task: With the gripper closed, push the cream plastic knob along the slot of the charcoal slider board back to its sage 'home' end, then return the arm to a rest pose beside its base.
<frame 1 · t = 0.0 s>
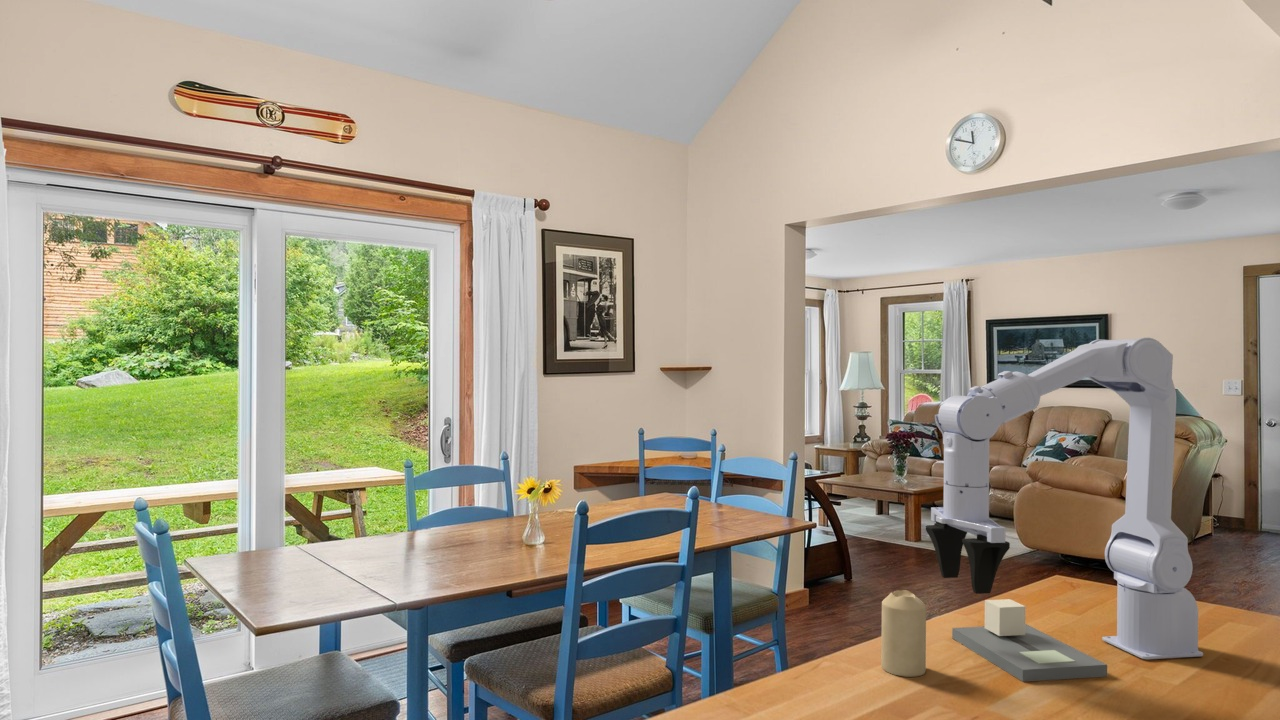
hand: (965, 584, 108), 10 cm above the table, fingers open, 7 cm apart
knob: (1004, 617, 113), point 4 cm above the table, slide at 9.0 cm
candle: (903, 670, 104), on the table
slider board: (1024, 656, 109), on the table
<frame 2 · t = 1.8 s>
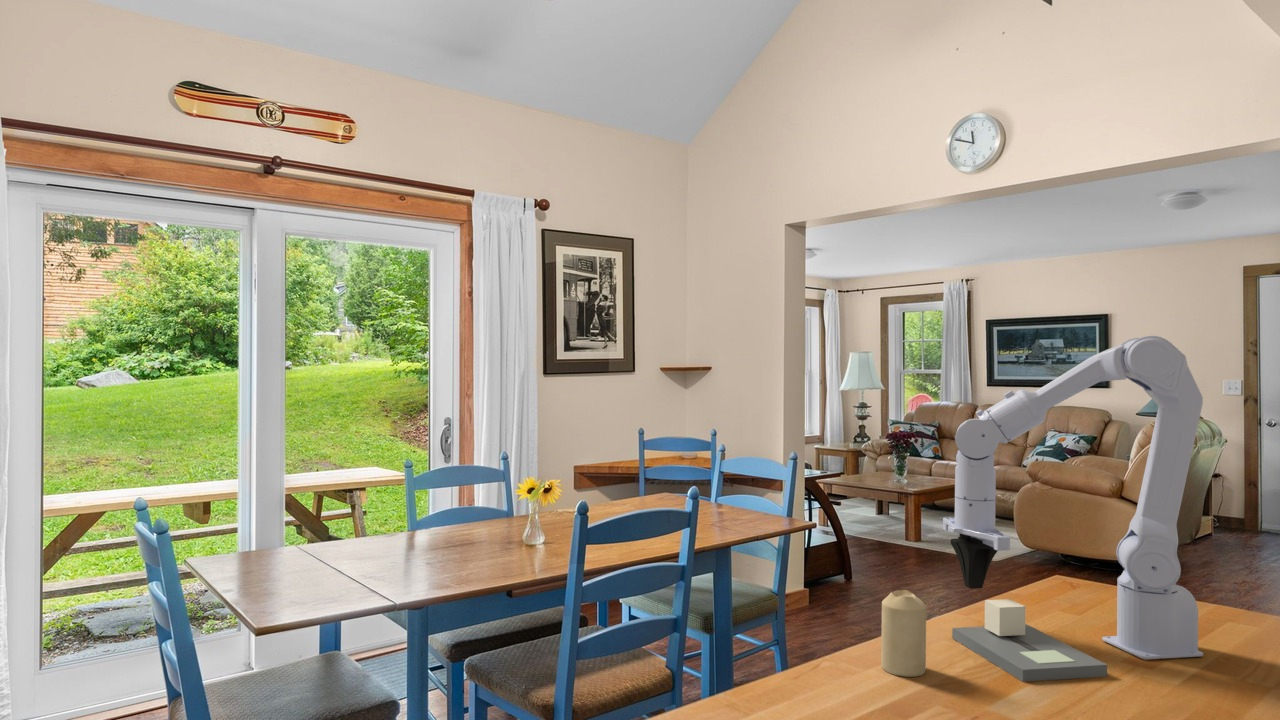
hand: (973, 587, 121), 6 cm above the table, fingers closed
nothing on the table moved.
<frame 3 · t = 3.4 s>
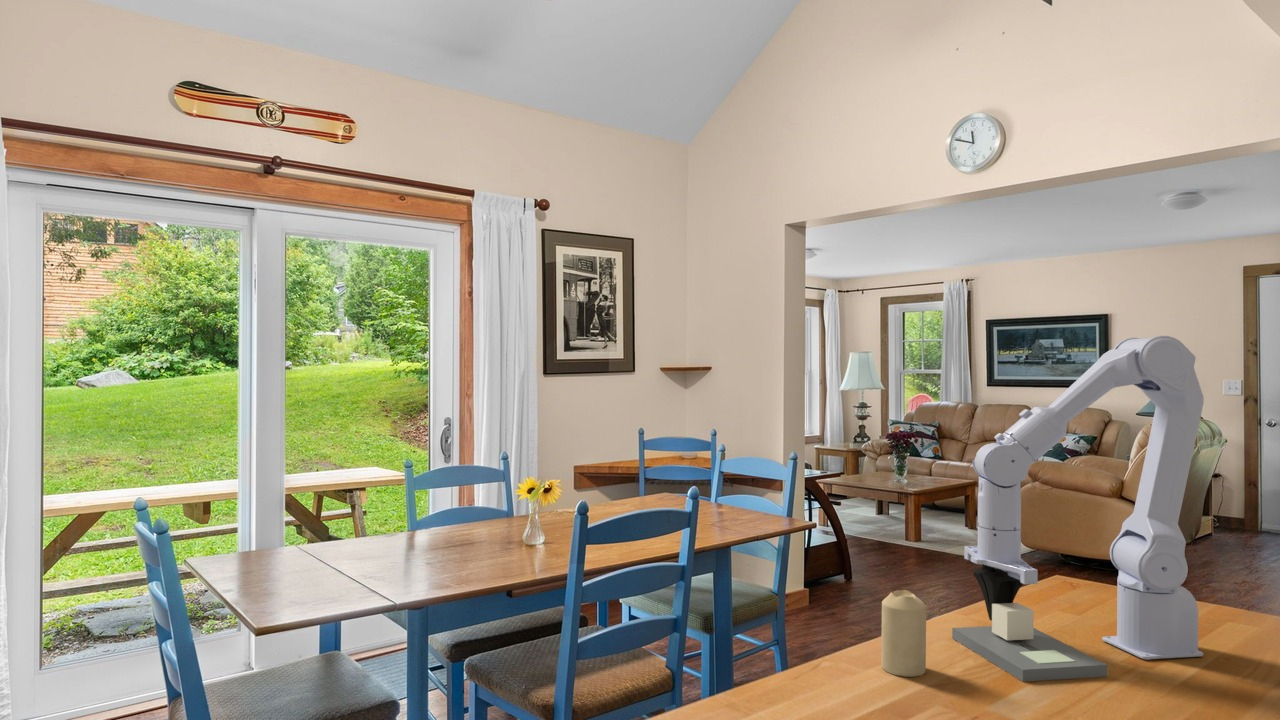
hand: (998, 621, 115), 3 cm above the table, fingers closed
knob: (1012, 621, 112), point 4 cm above the table, slide at 7.3 cm, touching gripper
everything else where it was.
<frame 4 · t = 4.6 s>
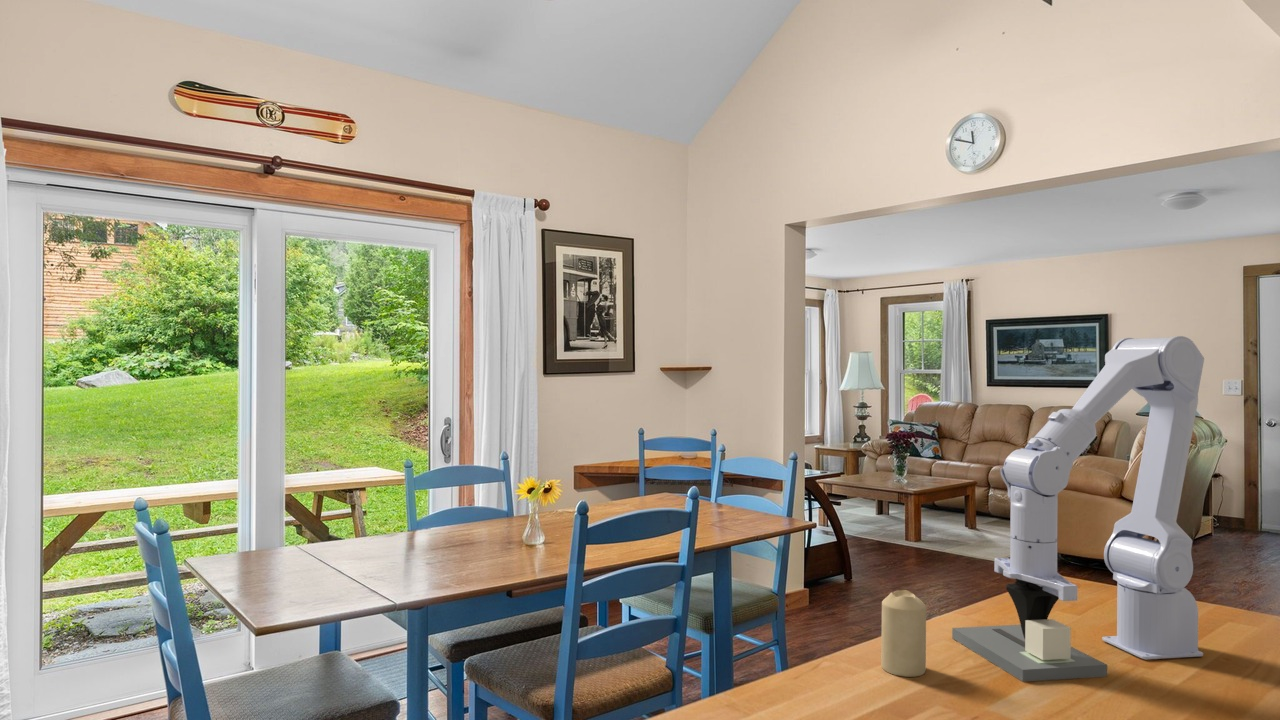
hand: (1032, 639, 107), 3 cm above the table, fingers closed
knob: (1047, 639, 104), point 4 cm above the table, slide at -0.1 cm, touching gripper
everything else where it was.
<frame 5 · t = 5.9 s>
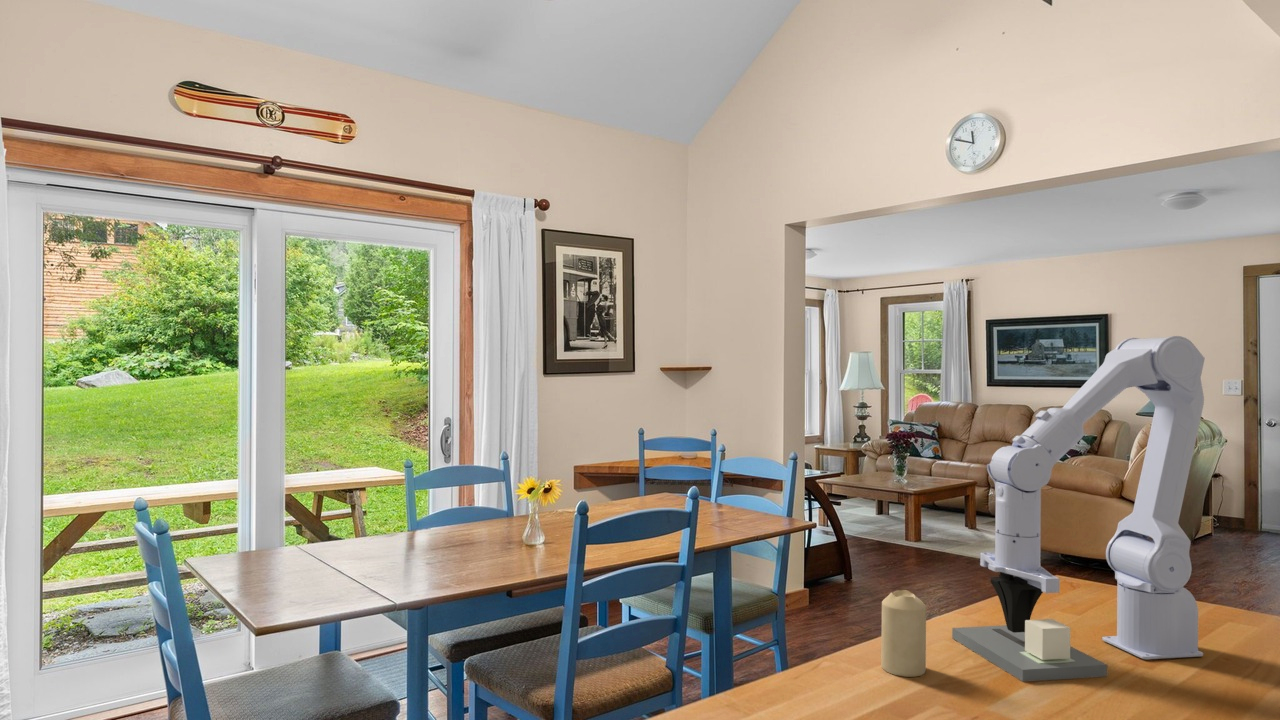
hand: (1016, 630, 111), 3 cm above the table, fingers closed
knob: (1047, 639, 105), point 4 cm above the table, slide at 0.0 cm
everything else where it was.
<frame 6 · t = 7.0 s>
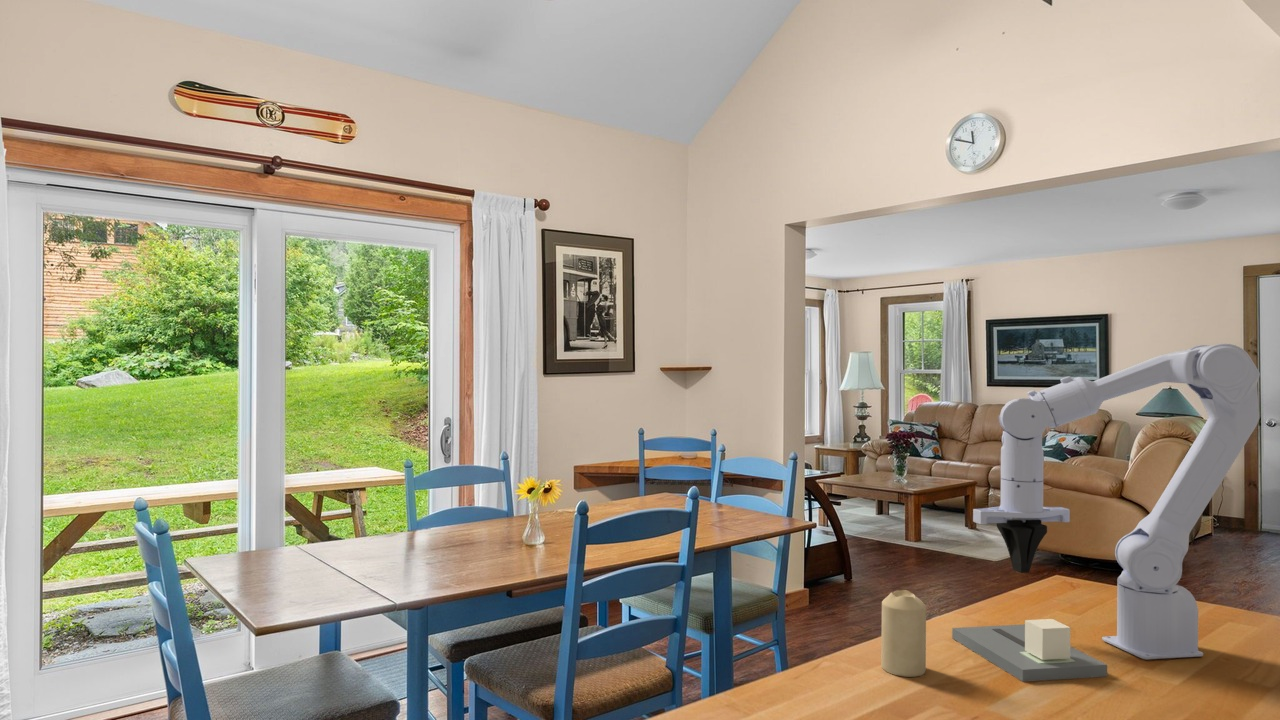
hand: (1021, 571, 118), 9 cm above the table, fingers closed
nothing on the table moved.
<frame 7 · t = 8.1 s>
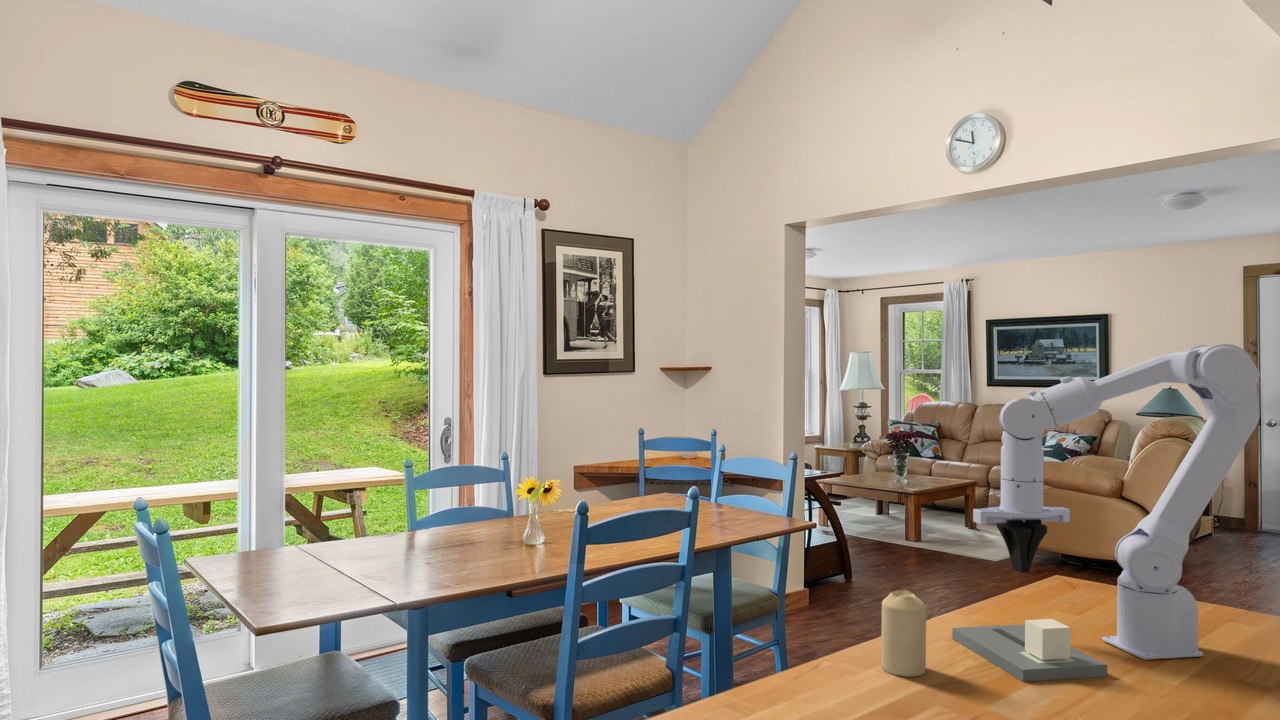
hand: (1021, 571, 118), 9 cm above the table, fingers closed
nothing on the table moved.
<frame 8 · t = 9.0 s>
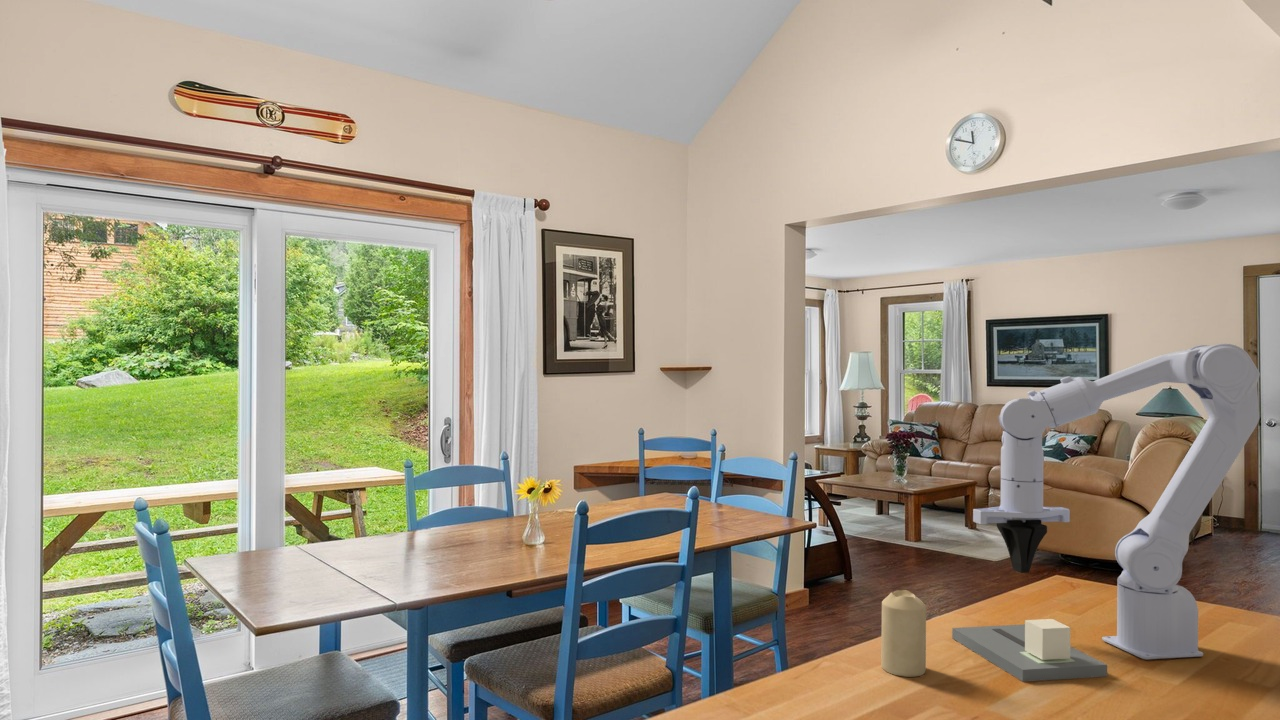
hand: (1021, 571, 118), 9 cm above the table, fingers closed
nothing on the table moved.
at the end: knob slide at 0.0 cm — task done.
